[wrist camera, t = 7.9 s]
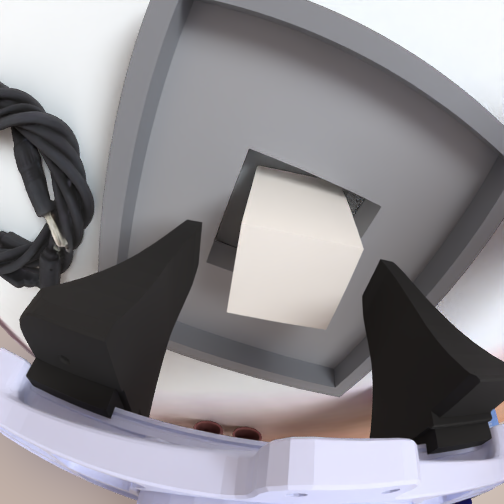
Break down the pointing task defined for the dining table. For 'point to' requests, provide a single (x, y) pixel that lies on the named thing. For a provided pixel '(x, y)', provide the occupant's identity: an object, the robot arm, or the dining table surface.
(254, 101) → the walled box
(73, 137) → the cable
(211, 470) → the robot arm
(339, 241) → the white rectangular block
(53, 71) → the dining table surface
